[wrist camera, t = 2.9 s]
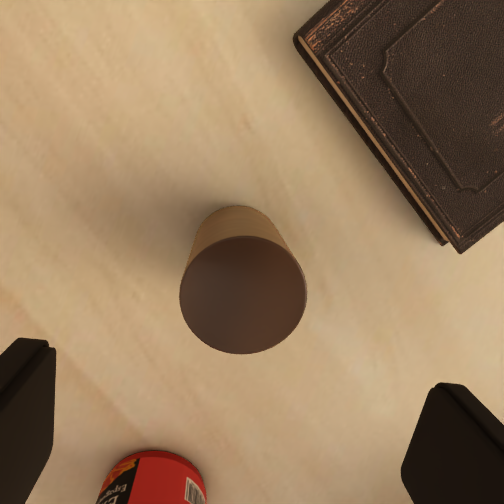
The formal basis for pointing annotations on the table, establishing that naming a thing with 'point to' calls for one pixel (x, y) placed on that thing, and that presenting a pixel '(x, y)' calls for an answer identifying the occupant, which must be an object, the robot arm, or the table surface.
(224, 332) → the walnut cylinder
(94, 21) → the table surface
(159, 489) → the canned food
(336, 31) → the hardcover book
